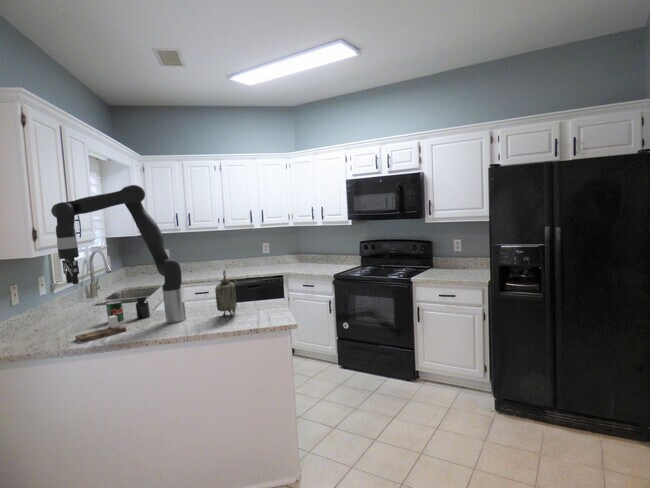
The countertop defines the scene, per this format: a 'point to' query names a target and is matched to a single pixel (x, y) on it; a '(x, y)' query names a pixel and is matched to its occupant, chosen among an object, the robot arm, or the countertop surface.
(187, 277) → the countertop surface
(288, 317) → the countertop surface
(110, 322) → the fader
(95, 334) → the board
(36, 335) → the countertop surface
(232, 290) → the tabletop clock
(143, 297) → the supplement bottle
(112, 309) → the canned tomato
